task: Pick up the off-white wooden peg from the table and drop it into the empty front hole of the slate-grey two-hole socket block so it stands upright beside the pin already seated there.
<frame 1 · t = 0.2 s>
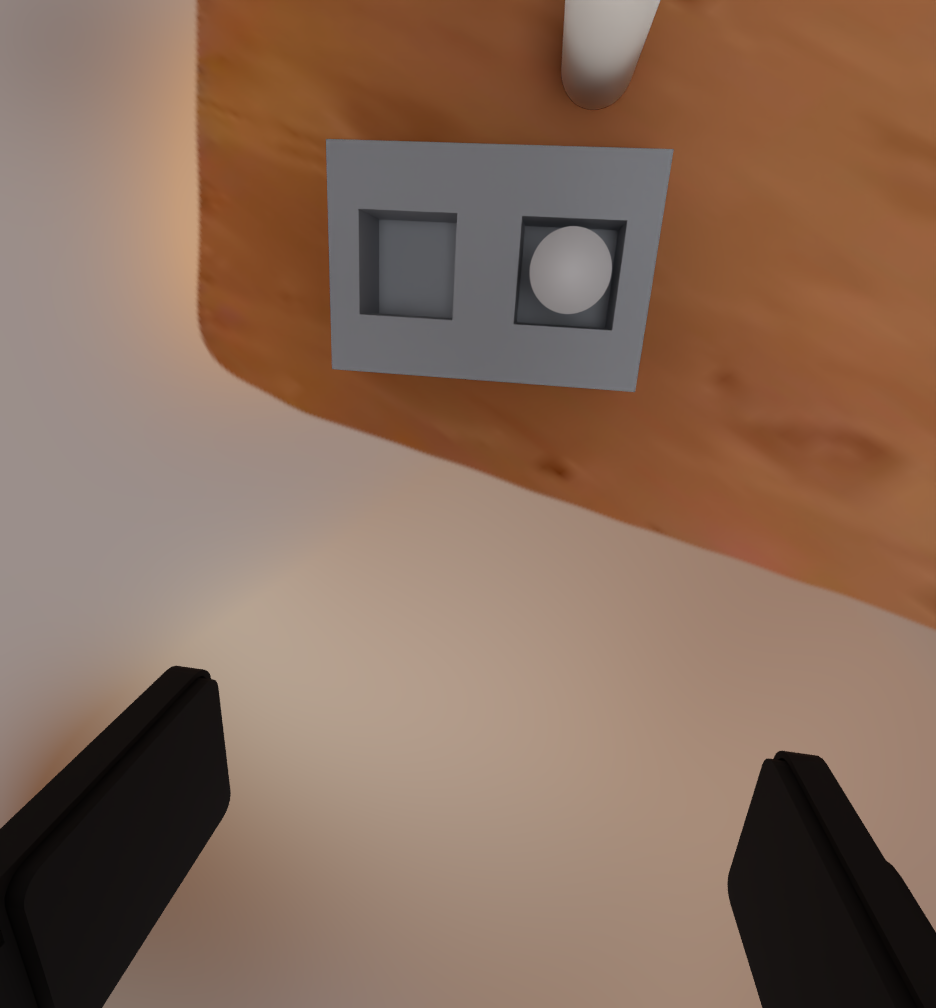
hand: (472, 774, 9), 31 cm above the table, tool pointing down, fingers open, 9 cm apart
peg: (597, 67, 31), on the table
socket block: (494, 274, 35), on the table
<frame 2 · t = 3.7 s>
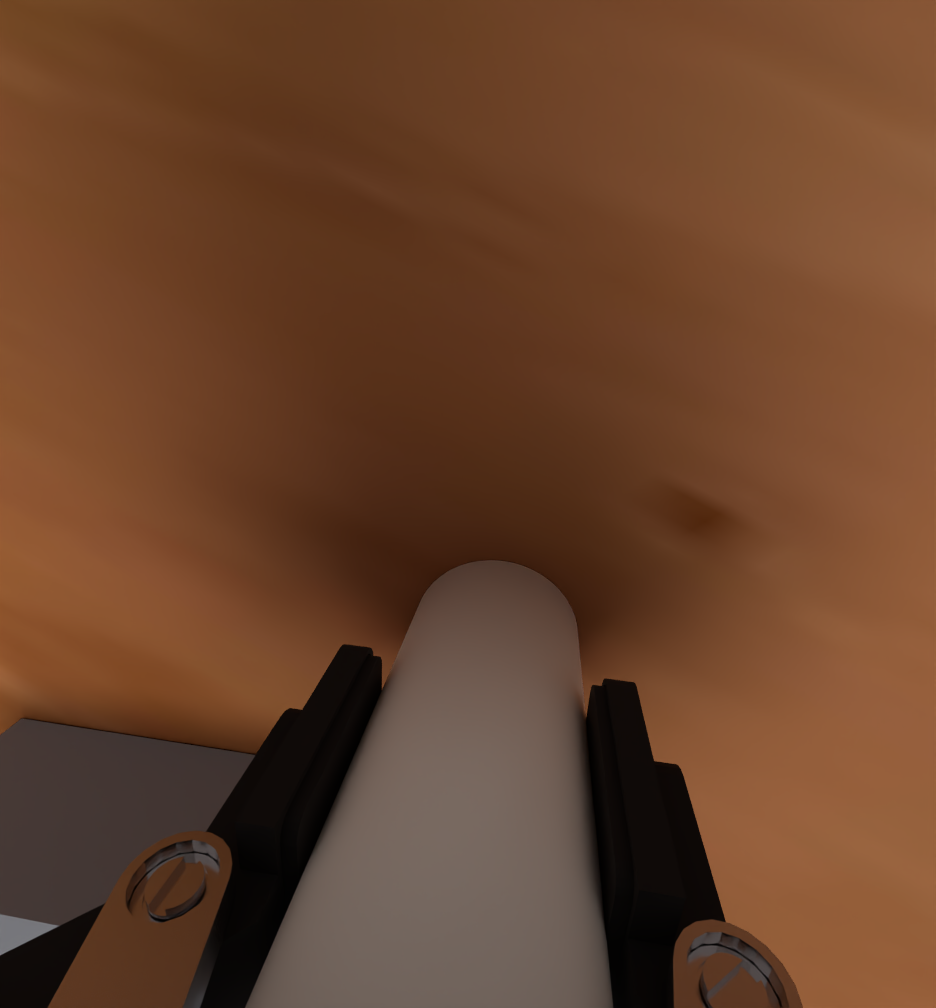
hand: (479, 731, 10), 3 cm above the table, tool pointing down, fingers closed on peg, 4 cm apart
peg: (494, 634, 14), on the table, touching gripper
socket block: (314, 908, 18), on the table
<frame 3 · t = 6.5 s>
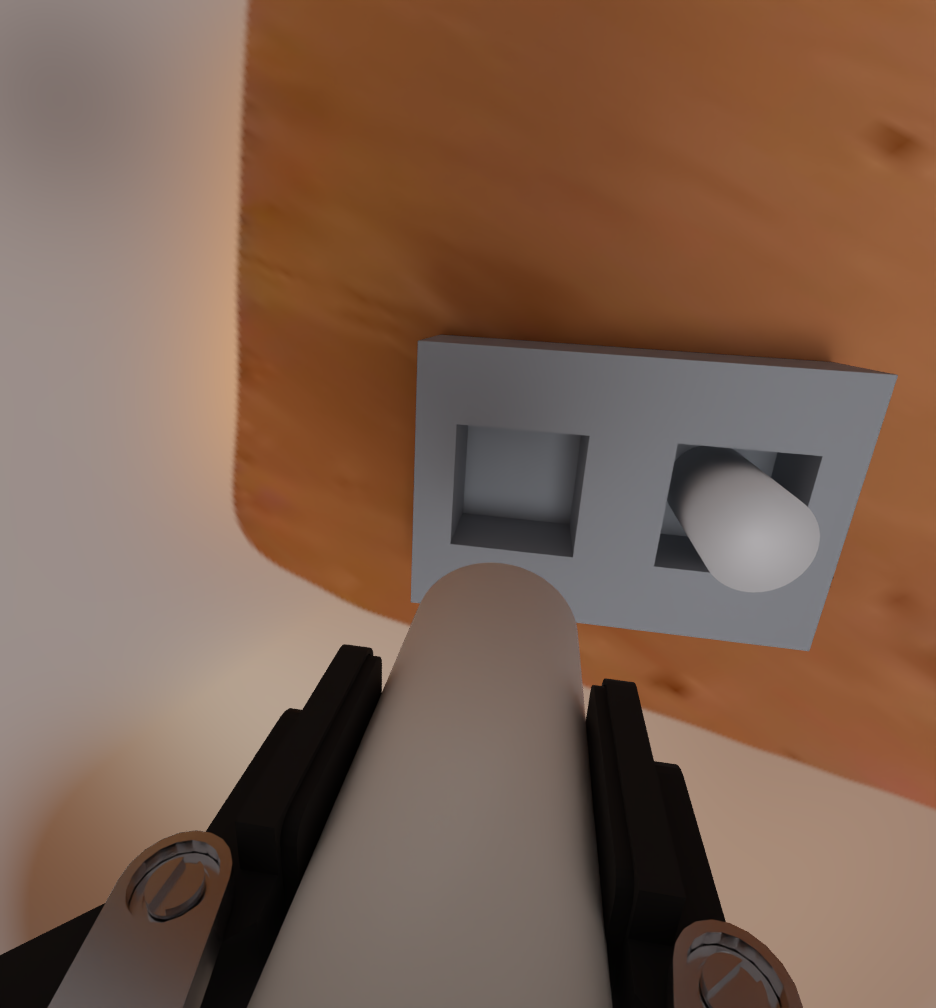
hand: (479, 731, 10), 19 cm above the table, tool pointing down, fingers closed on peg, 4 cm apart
peg: (494, 636, 14), point 16 cm above the table, touching gripper
socket block: (610, 470, 28), on the table
when the fingers open (6 cm above the table, at t = 9.8 s): peg drops 2 cm, resting on socket block.
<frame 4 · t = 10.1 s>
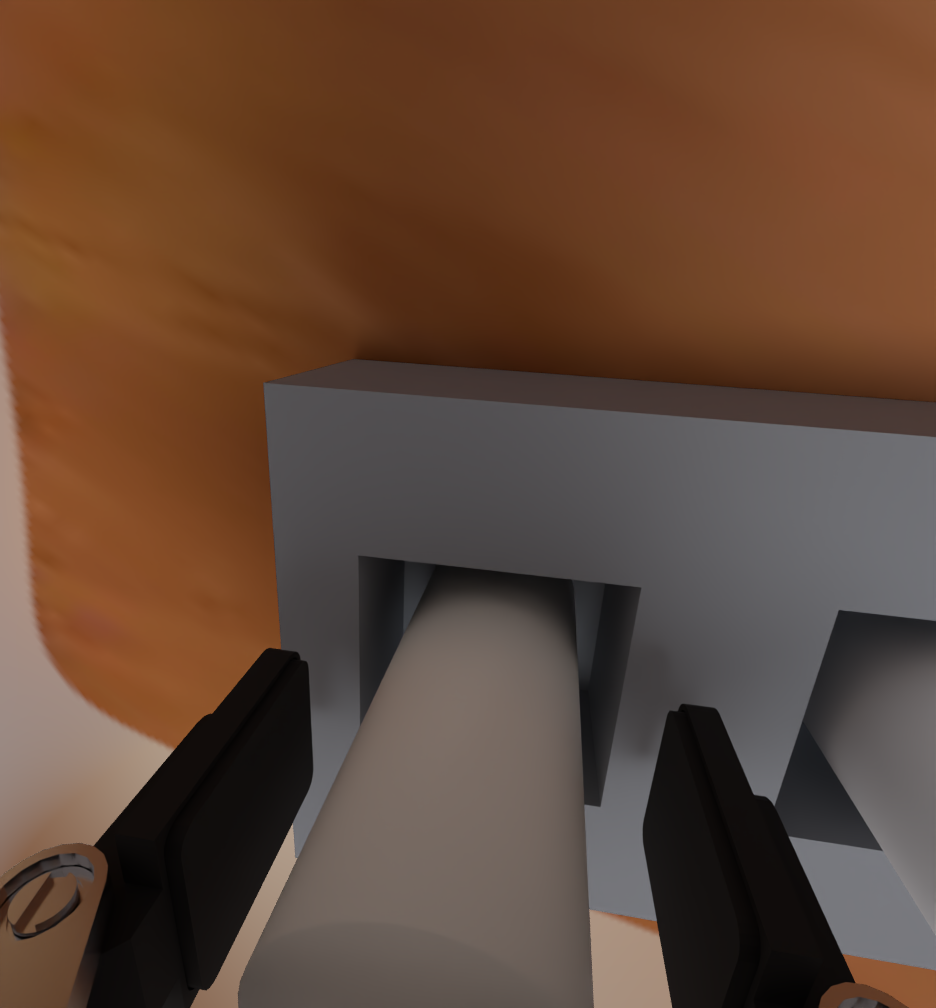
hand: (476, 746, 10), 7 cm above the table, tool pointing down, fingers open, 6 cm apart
peg: (501, 596, 15), point 1 cm above the table, touching socket block
socket block: (660, 597, 16), on the table
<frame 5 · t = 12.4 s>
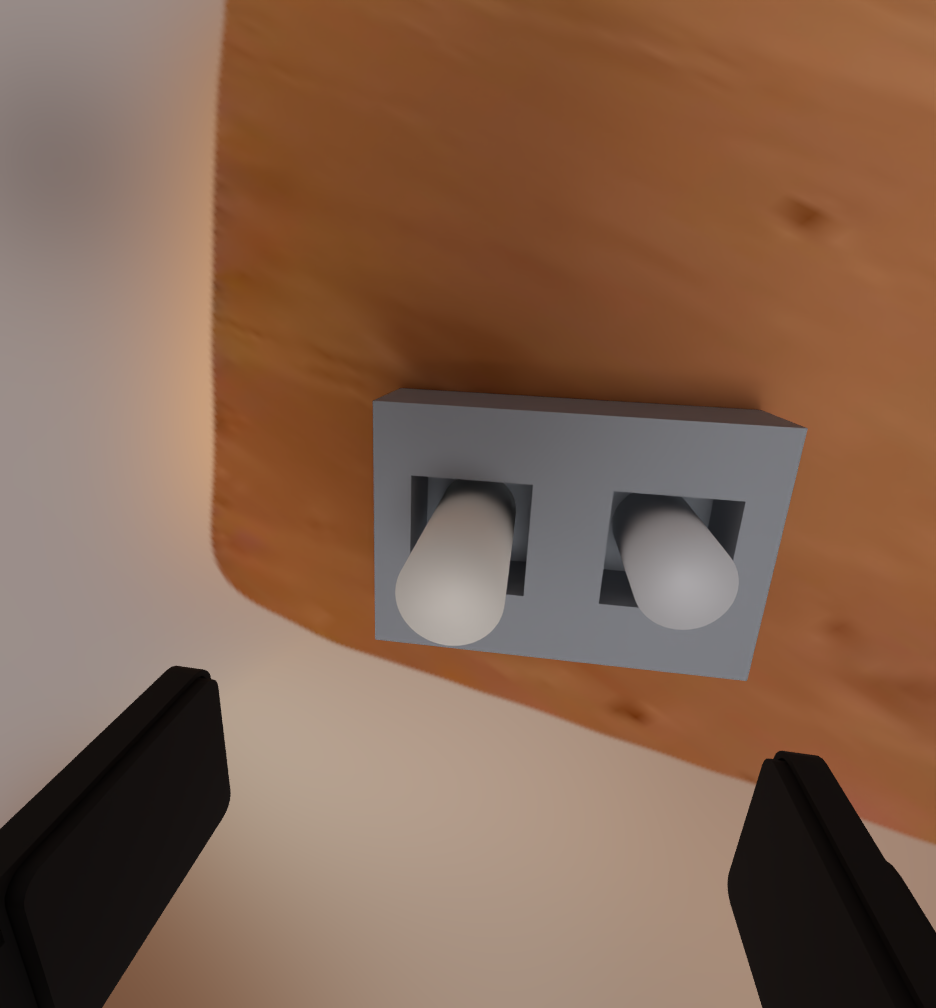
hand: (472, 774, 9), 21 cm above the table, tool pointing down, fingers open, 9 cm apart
peg: (478, 509, 29), point 1 cm above the table, touching socket block
socket block: (563, 510, 30), on the table
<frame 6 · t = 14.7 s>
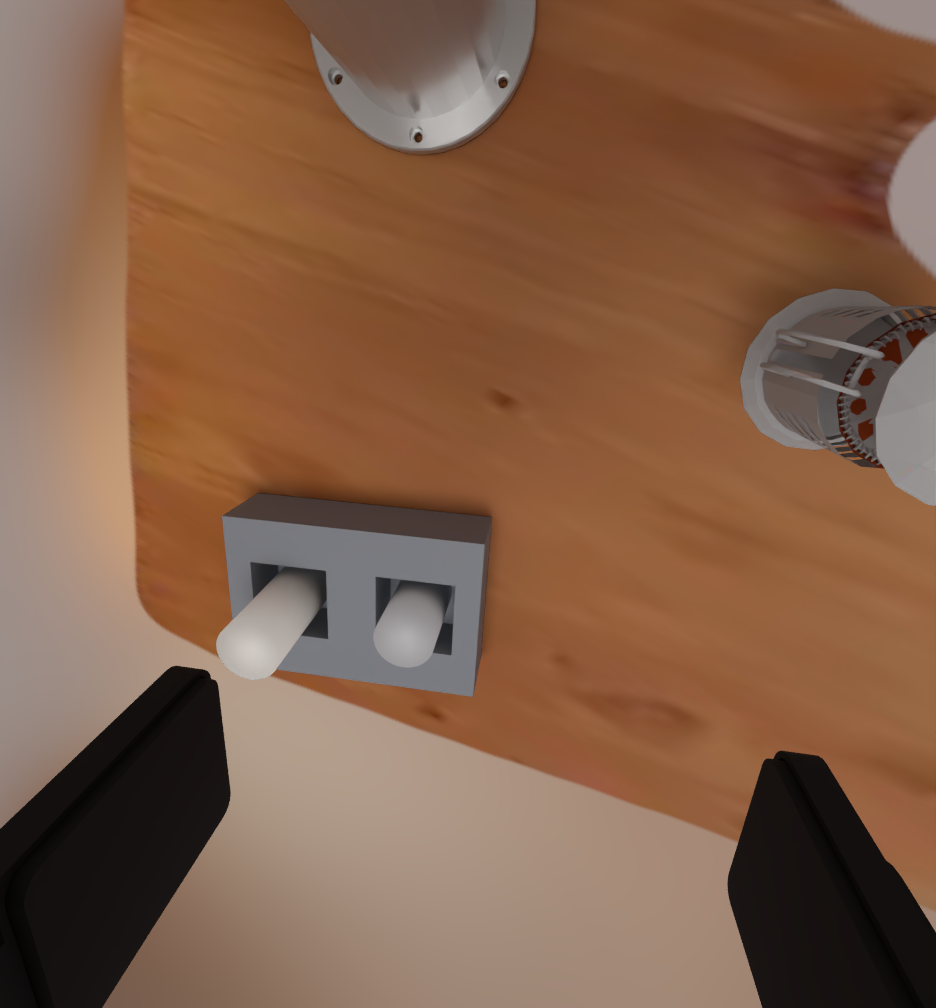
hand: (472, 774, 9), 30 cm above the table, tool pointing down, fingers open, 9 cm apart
peg: (312, 575, 43), point 1 cm above the table, touching socket block
french press: (809, 368, 34), on the table
socket block: (372, 576, 43), on the table
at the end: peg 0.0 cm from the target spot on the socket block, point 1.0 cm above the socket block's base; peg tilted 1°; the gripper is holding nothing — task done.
